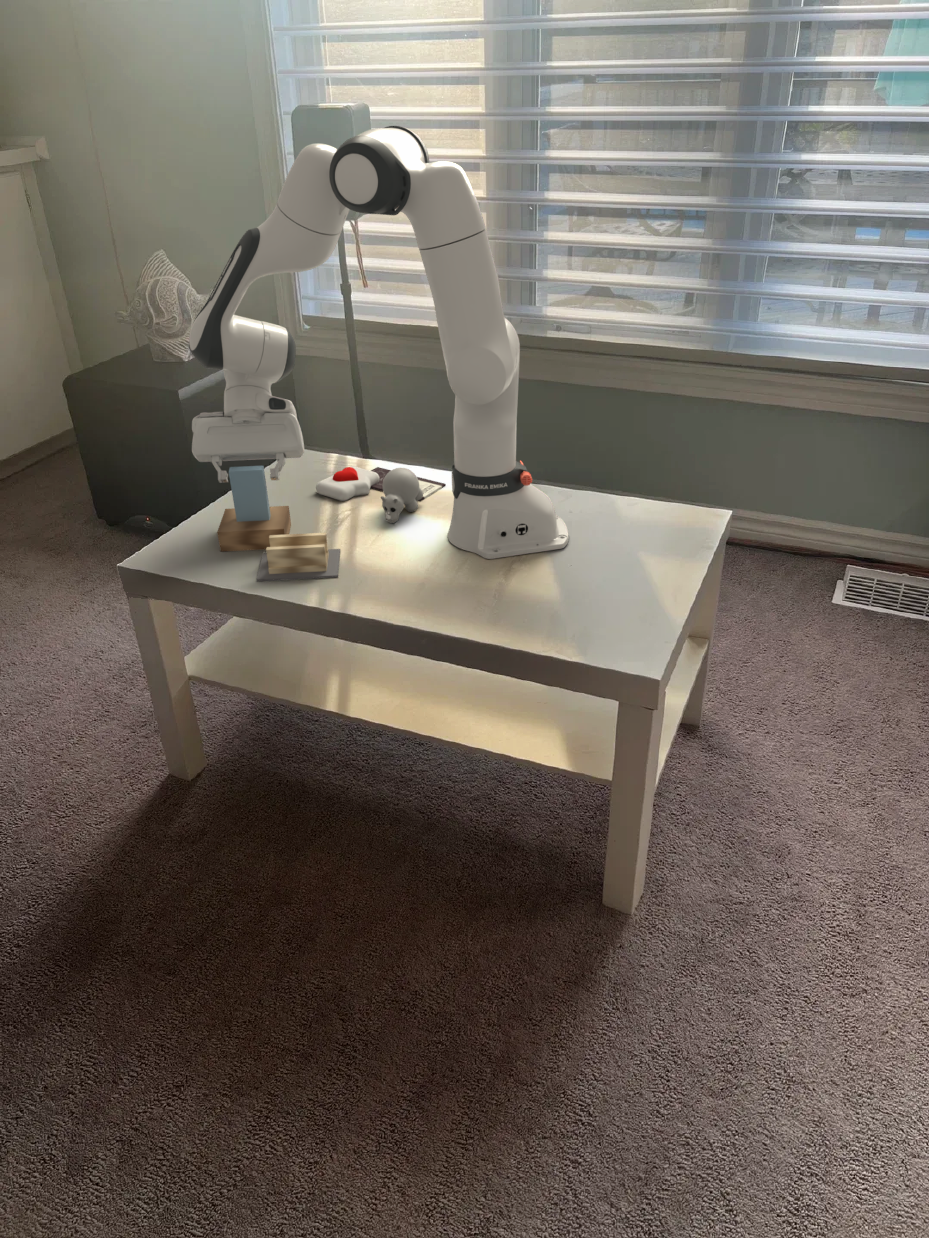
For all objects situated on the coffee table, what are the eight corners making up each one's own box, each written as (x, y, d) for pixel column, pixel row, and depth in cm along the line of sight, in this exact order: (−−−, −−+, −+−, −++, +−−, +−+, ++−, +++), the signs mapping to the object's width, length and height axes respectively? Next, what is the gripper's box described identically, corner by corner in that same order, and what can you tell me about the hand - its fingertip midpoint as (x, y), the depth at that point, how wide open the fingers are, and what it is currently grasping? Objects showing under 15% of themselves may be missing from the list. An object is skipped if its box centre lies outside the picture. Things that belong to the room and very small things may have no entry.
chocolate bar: (377, 467, 200) (445, 483, 192) (377, 471, 201) (445, 488, 192) (351, 481, 194) (420, 499, 185) (351, 485, 194) (420, 503, 186)
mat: (340, 550, 168) (340, 548, 168) (337, 577, 159) (337, 575, 159) (263, 554, 167) (263, 552, 167) (256, 581, 159) (256, 579, 158)
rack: (328, 555, 166) (326, 531, 164) (326, 573, 161) (324, 548, 158) (273, 558, 166) (269, 534, 163) (269, 576, 160) (265, 551, 157)
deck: (291, 524, 177) (288, 505, 175) (286, 548, 169) (283, 528, 167) (228, 527, 177) (225, 508, 175) (220, 551, 168) (217, 532, 166)
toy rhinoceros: (374, 532, 180) (363, 501, 173) (396, 488, 186) (386, 458, 180) (408, 536, 178) (398, 506, 171) (429, 493, 184) (420, 461, 177)
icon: (348, 486, 183) (311, 475, 188) (350, 506, 185) (313, 495, 190) (387, 466, 191) (351, 456, 196) (388, 486, 193) (352, 475, 198)
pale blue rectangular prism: (270, 515, 172) (263, 465, 166) (269, 520, 170) (262, 469, 165) (238, 517, 171) (230, 467, 166) (236, 521, 170) (228, 471, 164)
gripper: (187, 405, 167) (187, 476, 164) (300, 401, 168) (301, 471, 165) (196, 420, 174) (195, 489, 170) (304, 416, 175) (306, 484, 171)
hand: (249, 480), depth 168 cm, fingers open, 8 cm apart
